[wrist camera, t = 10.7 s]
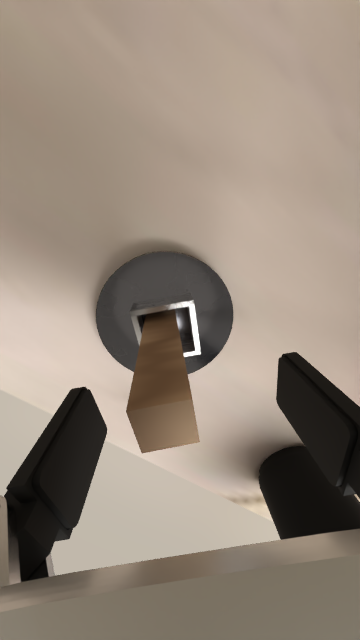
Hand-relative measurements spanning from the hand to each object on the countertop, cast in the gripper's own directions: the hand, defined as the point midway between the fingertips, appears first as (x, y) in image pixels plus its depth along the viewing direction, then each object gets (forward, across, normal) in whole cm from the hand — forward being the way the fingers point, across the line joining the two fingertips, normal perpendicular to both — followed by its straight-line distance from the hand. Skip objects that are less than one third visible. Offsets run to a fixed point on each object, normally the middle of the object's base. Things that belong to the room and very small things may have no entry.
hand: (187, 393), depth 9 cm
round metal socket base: (+9, +1, 0) cm, 9 cm away
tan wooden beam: (+8, +1, 0) cm, 8 cm away
